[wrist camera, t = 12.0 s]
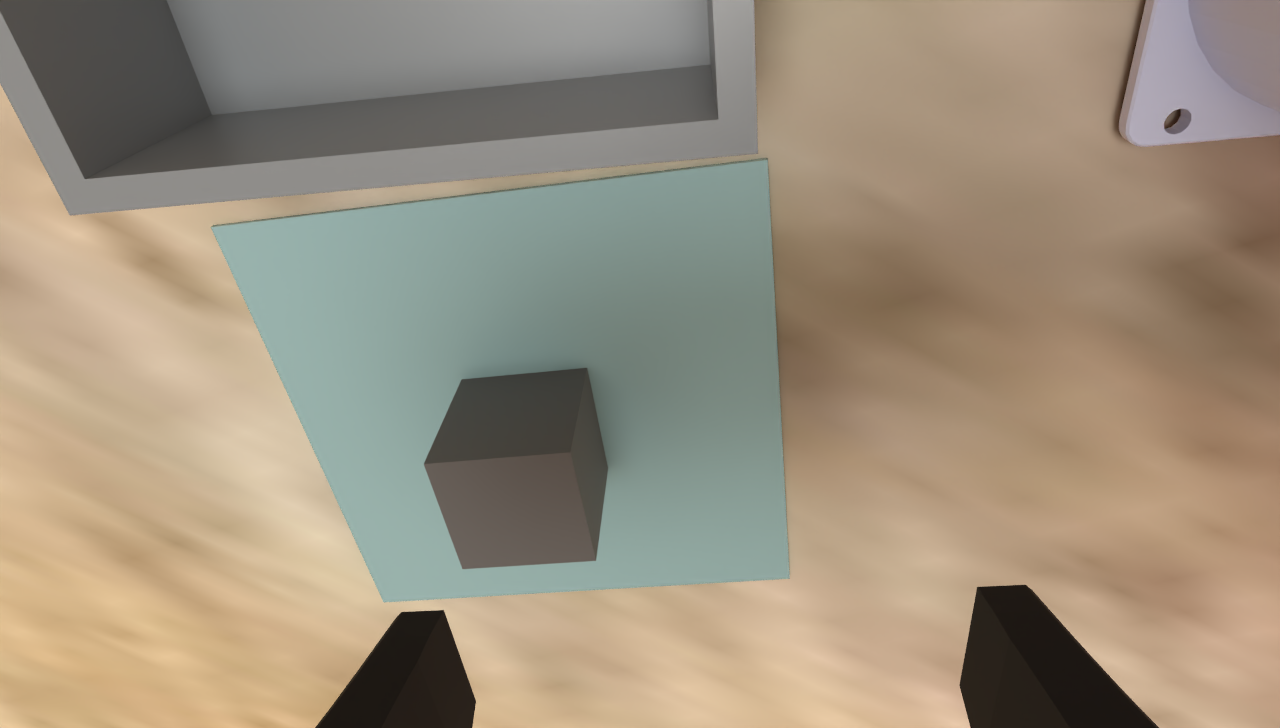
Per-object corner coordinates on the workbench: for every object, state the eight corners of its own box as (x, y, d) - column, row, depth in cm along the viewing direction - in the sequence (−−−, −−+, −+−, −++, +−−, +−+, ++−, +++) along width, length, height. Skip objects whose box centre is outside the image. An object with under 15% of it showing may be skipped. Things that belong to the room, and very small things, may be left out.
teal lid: (764, 149, 18) (785, 218, 14) (786, 559, 25) (804, 677, 21) (227, 215, 20) (120, 293, 16) (391, 583, 27) (343, 698, 23)
